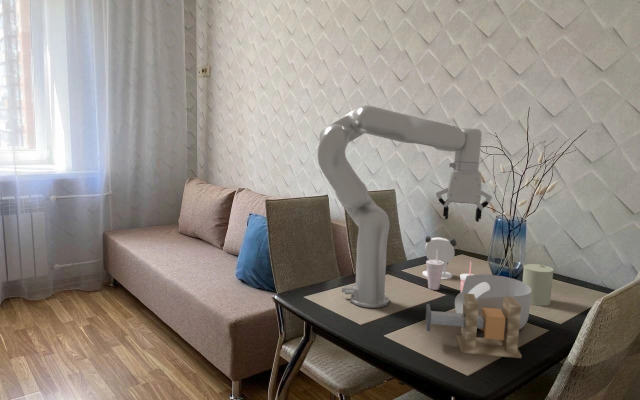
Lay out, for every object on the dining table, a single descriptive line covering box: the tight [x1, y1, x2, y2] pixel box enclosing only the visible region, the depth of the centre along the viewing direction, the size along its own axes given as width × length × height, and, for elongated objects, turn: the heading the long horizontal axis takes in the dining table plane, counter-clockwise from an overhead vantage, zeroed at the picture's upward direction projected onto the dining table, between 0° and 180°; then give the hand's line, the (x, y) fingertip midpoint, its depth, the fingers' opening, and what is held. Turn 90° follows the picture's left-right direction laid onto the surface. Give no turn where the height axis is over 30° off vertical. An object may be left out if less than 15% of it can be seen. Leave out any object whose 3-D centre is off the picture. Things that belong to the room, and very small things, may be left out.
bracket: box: [456, 293, 522, 359], centre depth 114 cm, size 14×8×13 cm, turn 80°
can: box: [522, 263, 555, 307], centre depth 149 cm, size 9×9×12 cm
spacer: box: [480, 308, 505, 340], centre depth 114 cm, size 4×6×6 cm
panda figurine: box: [422, 235, 457, 281], centre depth 174 cm, size 12×11×15 cm
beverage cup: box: [459, 260, 475, 293], centre depth 145 cm, size 6×6×14 cm
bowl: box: [454, 274, 531, 330], centre depth 130 cm, size 20×19×12 cm
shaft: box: [425, 303, 507, 332], centre depth 115 cm, size 22×6×5 cm, turn 80°
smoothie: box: [425, 250, 444, 291], centre depth 159 cm, size 6×6×14 cm
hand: (461, 219), depth 145 cm, fingers open, 9 cm apart
